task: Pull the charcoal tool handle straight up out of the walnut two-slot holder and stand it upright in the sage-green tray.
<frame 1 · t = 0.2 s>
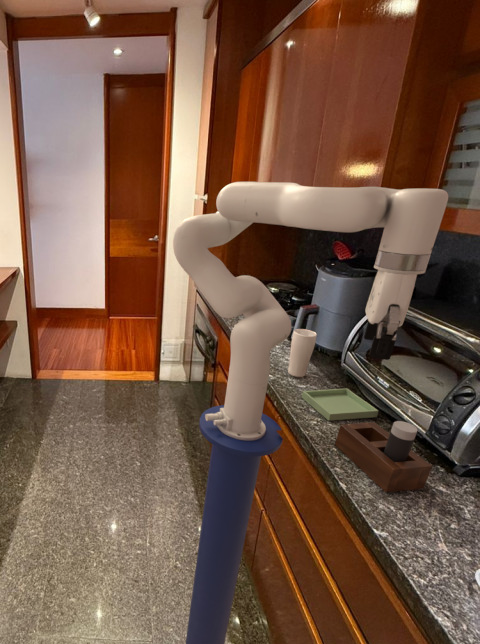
hand: (375, 348, 76), 30 cm above the worktop, tool pointing down, fingers open, 9 cm apart
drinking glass: (296, 374, 129), on the worktop
tray: (337, 406, 111), on the worktop
holder: (375, 465, 88), on the worktop
tool handle: (387, 475, 85), resting in holder
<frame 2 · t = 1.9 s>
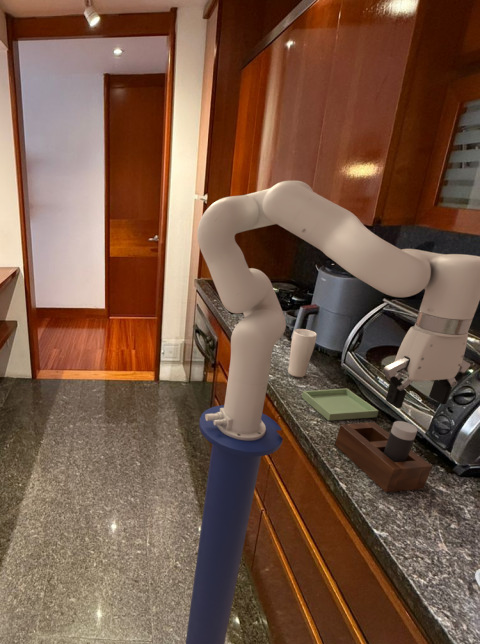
hand: (415, 402, 78), 19 cm above the worktop, tool pointing down, fingers open, 9 cm apart
nothing on the worktop moved.
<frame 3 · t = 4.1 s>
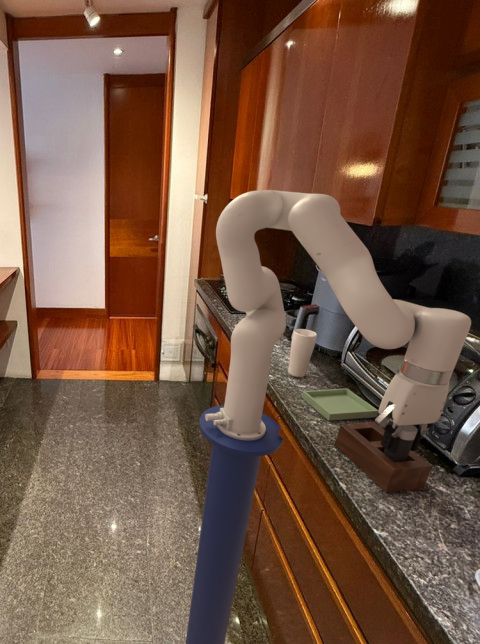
hand: (398, 447, 82), 8 cm above the worktop, tool pointing down, fingers closed on tool handle, 4 cm apart
tool handle: (387, 475, 85), resting in holder, touching gripper
everything else where it was.
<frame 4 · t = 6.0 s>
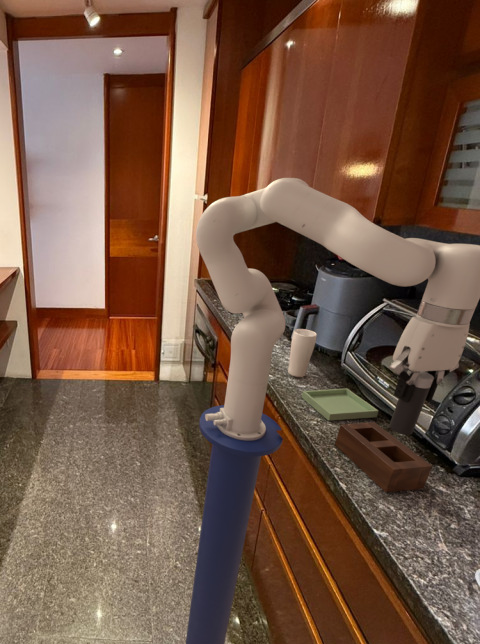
hand: (412, 397, 78), 20 cm above the worktop, tool pointing down, fingers closed on tool handle, 4 cm apart
tool handle: (400, 429, 81), point 12 cm above the worktop, touching gripper
everything else where it was.
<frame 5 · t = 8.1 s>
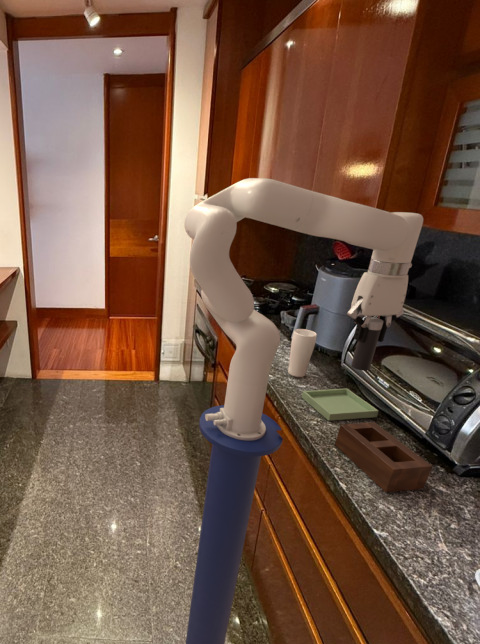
hand: (367, 339, 97), 23 cm above the worktop, tool pointing down, fingers closed on tool handle, 4 cm apart
tool handle: (360, 367, 100), point 16 cm above the worktop, touching gripper
everything else where it was.
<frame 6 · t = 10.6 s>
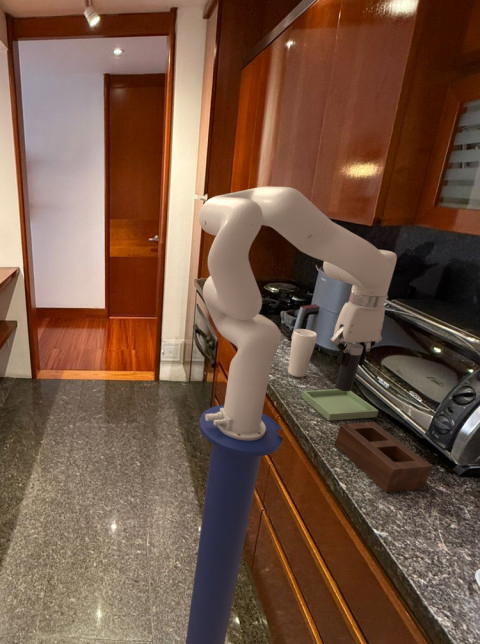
hand: (349, 363, 105), 14 cm above the worktop, tool pointing down, fingers closed on tool handle, 4 cm apart
tool handle: (343, 387, 108), point 6 cm above the worktop, touching gripper
everything else where it was.
when the fingers open (8 cm above the worktop, at t = 12.2 s): tool handle stays where it is, resting on tray.
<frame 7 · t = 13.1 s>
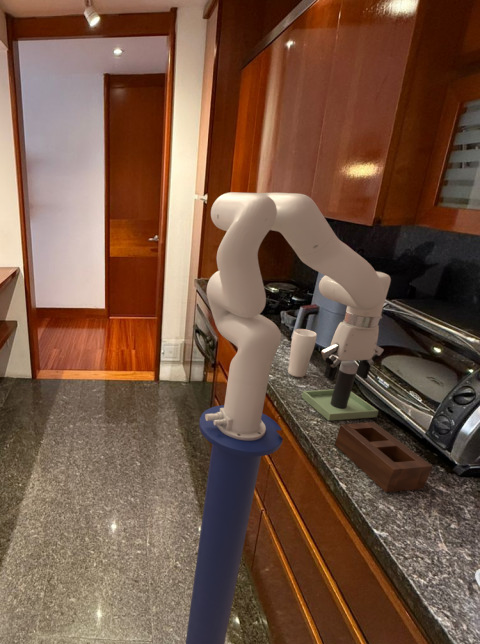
hand: (345, 377, 107), 10 cm above the worktop, tool pointing down, fingers open, 9 cm apart
tool handle: (338, 405, 110), point 1 cm above the worktop, touching tray
everything else where it was.
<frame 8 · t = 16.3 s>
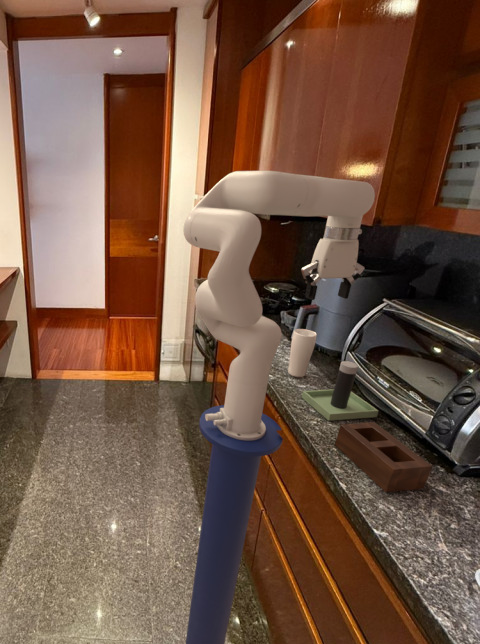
hand: (326, 297, 106), 30 cm above the worktop, tool pointing down, fingers open, 9 cm apart
nothing on the worktop moved.
at the end: tool handle inside the target area in the tray (0.1 cm from its centre), point 0.6 cm above the tray's base; tool handle tilted 0°; tool handle touching tray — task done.
